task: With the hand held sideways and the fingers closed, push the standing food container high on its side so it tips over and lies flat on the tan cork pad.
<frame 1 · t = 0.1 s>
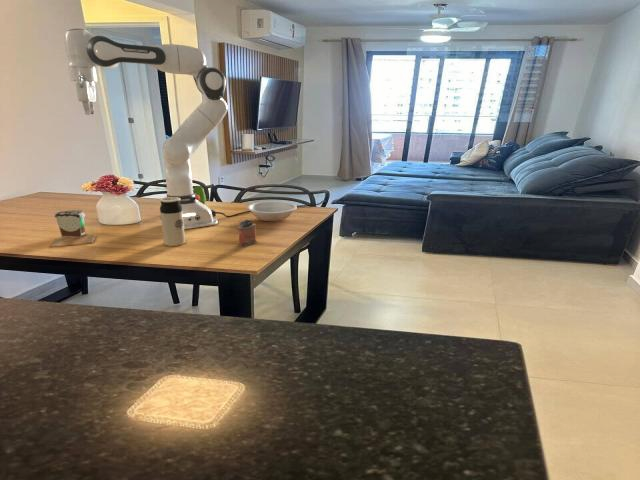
hand: (90, 114, 150), 48 cm above the table, tool pointing down, fingers open, 8 cm apart
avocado: (199, 207, 207), on the table
cork pad: (73, 241, 151), on the table
red tin: (247, 244, 153), on the table
travel mug: (174, 243, 152), on the table
food container: (77, 235, 158), on the table, touching cork pad
soup bowl: (272, 220, 187), on the table
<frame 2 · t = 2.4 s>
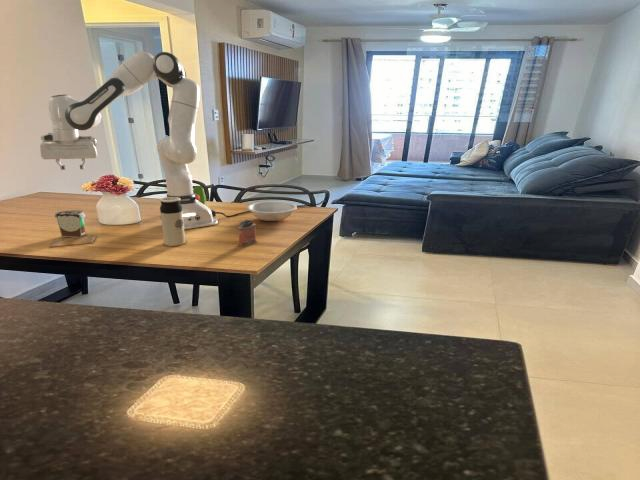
hand: (72, 169, 163), 25 cm above the table, tool pointing down, fingers open, 6 cm apart
nothing on the table moved.
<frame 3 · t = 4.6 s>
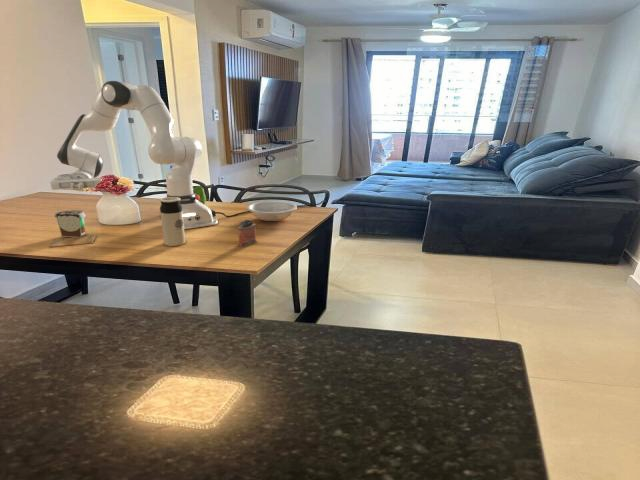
hand: (75, 186, 165), 18 cm above the table, tool horizontal, fingers closed
nothing on the table moved.
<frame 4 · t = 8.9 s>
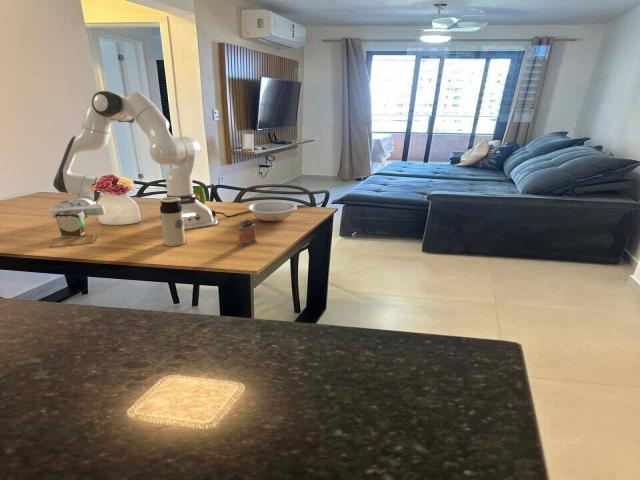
hand: (75, 215, 159), 8 cm above the table, tool horizontal, fingers closed
food container: (77, 235, 158), on the table, touching cork pad, gripper
everything else where it was.
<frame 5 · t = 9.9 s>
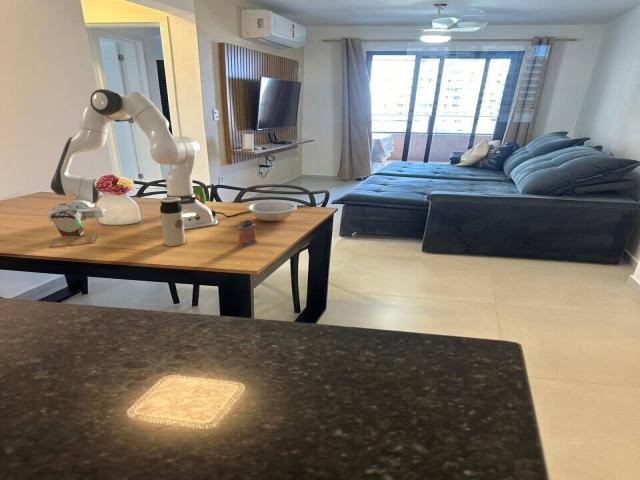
hand: (74, 218, 155), 7 cm above the table, tool horizontal, fingers closed
food container: (77, 233, 158), point 1 cm above the table, touching cork pad, gripper
everything else where it was.
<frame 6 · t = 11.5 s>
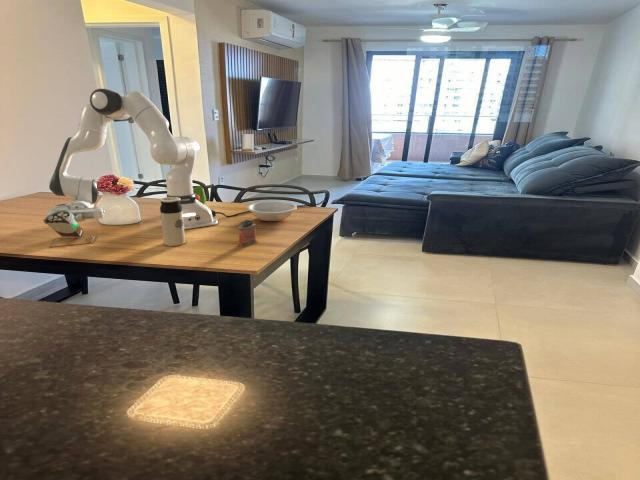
hand: (73, 219, 154), 8 cm above the table, tool horizontal, fingers closed
food container: (75, 231, 157), point 2 cm above the table, touching cork pad
everything else where it was.
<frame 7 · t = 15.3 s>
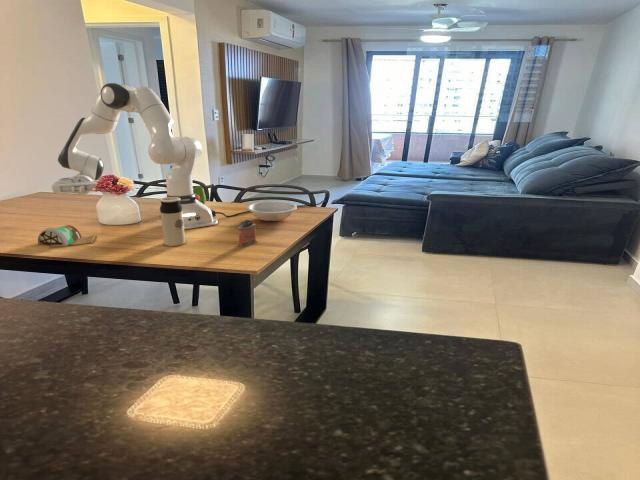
hand: (76, 190, 165), 16 cm above the table, tool horizontal, fingers closed
food container: (70, 229, 154), point 3 cm above the table, touching cork pad
everything else where it was.
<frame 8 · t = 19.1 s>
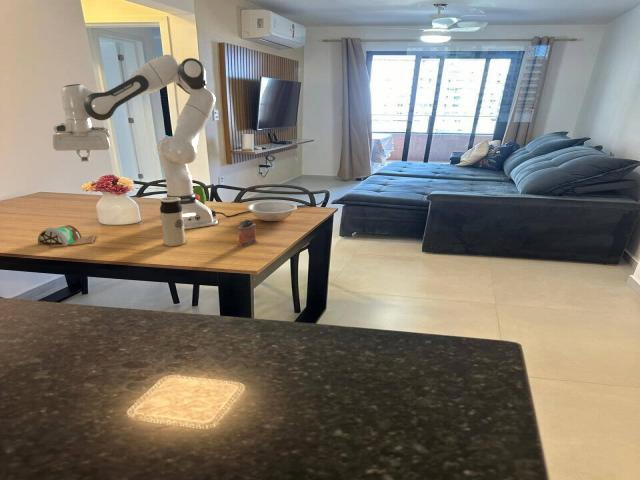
hand: (85, 161, 160), 29 cm above the table, tool pointing down, fingers closed
nothing on the table moved.
at the end: food container tilted 90°; food container inside the target area (5.7 cm from its centre), point 3.5 cm above the table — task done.
